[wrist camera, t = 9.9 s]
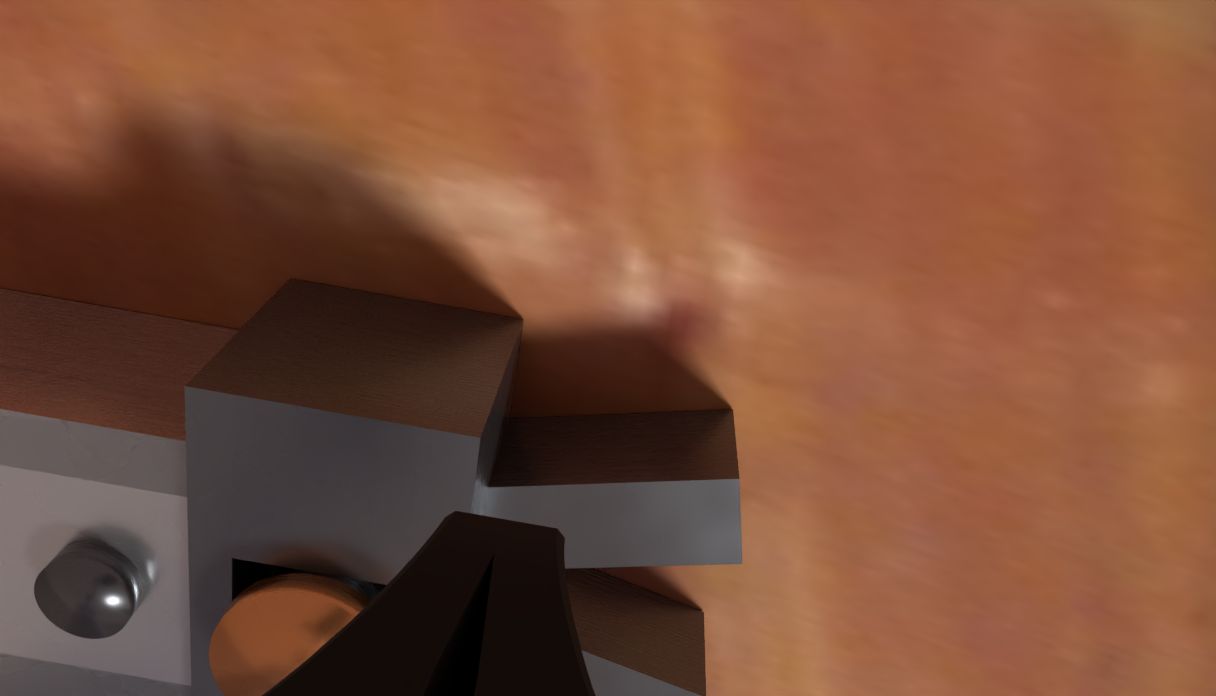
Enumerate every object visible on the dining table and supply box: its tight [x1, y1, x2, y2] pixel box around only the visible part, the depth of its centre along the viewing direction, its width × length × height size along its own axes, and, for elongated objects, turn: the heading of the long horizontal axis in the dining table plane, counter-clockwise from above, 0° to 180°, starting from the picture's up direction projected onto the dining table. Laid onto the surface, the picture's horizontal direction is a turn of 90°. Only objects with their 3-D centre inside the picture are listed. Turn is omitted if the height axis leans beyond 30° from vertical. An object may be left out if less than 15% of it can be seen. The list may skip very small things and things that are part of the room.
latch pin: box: [209, 569, 386, 696], centre depth 20 cm, size 3×3×4 cm
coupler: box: [184, 279, 742, 696], centre depth 21 cm, size 15×10×5 cm
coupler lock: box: [0, 288, 239, 696], centre depth 21 cm, size 8×7×5 cm
